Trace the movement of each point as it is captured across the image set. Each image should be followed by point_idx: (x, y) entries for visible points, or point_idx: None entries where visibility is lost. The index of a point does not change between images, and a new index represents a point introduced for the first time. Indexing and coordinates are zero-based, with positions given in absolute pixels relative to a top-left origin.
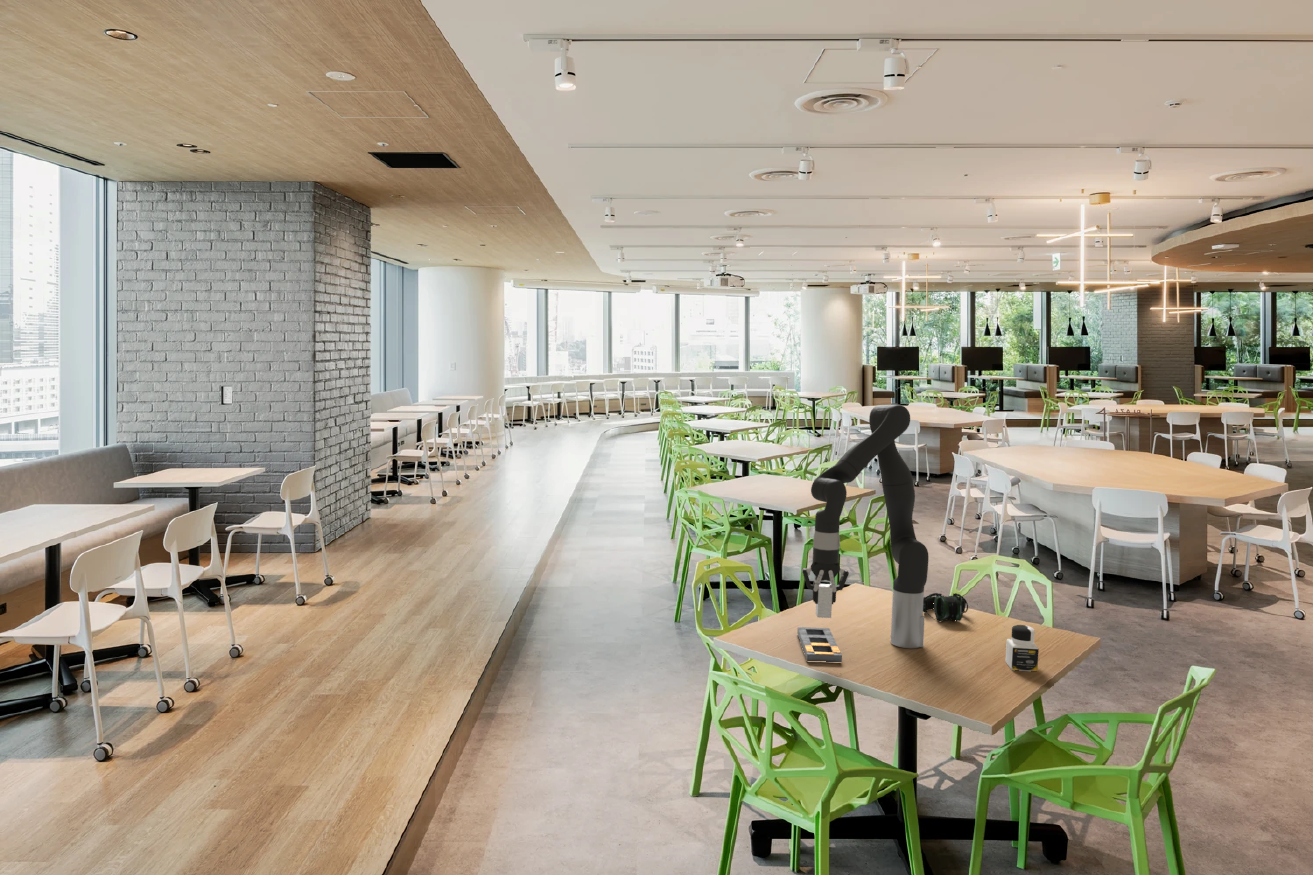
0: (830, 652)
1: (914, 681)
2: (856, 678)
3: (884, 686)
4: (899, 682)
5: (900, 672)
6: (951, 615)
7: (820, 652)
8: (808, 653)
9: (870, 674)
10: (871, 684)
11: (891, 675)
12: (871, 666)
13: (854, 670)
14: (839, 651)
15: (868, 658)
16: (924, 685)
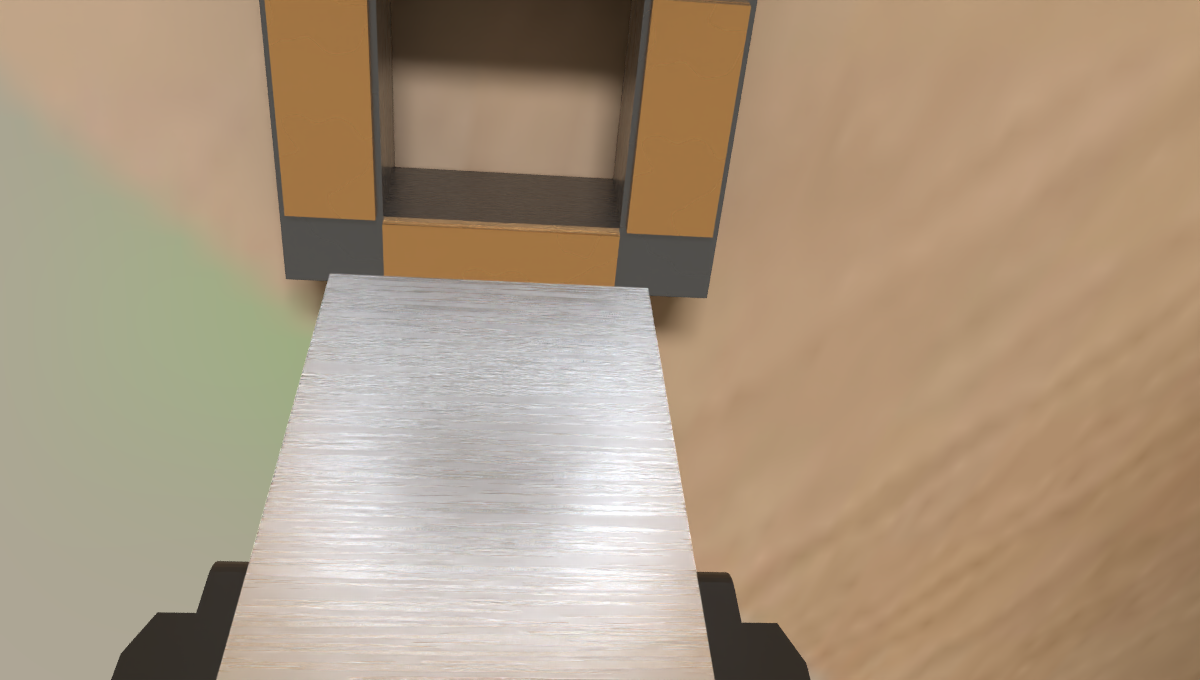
0: (585, 240)
1: (1167, 574)
2: (715, 548)
3: (876, 655)
4: (1034, 594)
5: (1178, 424)
6: None
7: (456, 247)
8: (303, 257)
9: (876, 474)
10: (792, 633)
11: (1053, 484)
12: (983, 303)
13: (764, 401)
14: (711, 202)
15: (1079, 76)
16: (1192, 627)
